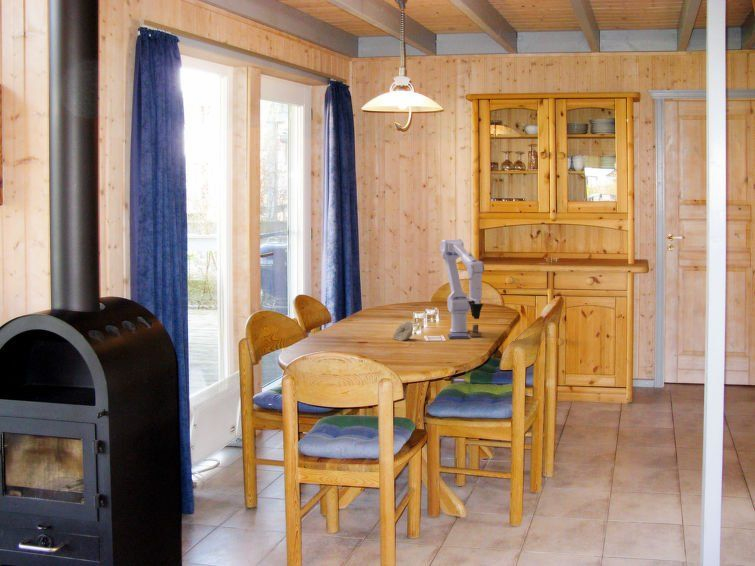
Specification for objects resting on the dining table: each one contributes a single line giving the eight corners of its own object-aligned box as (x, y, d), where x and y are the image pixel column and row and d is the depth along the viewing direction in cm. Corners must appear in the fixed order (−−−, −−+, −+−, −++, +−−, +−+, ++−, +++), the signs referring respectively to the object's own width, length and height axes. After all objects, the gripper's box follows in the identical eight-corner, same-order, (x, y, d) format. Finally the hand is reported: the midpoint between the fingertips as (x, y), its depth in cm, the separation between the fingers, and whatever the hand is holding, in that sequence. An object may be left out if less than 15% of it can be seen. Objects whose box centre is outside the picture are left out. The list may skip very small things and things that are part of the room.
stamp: (470, 336, 432) (470, 324, 431) (479, 336, 432) (479, 324, 431) (471, 337, 427) (471, 325, 427) (480, 337, 427) (480, 325, 427)
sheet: (423, 336, 433) (423, 335, 433) (443, 335, 433) (443, 335, 433) (425, 341, 419) (425, 340, 419) (445, 340, 419) (445, 340, 419)
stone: (392, 343, 421) (388, 323, 426) (397, 348, 427) (393, 328, 432) (413, 336, 418) (409, 316, 423) (418, 341, 424) (414, 321, 429)
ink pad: (447, 335, 432) (447, 333, 432) (467, 335, 433) (467, 332, 432) (449, 339, 423) (449, 336, 423) (469, 338, 424) (469, 336, 423)
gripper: (464, 286, 434) (465, 315, 436) (468, 289, 420) (468, 320, 421) (480, 286, 434) (480, 315, 436) (484, 289, 420) (484, 319, 421)
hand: (475, 317), depth 429 cm, fingers open, 7 cm apart
